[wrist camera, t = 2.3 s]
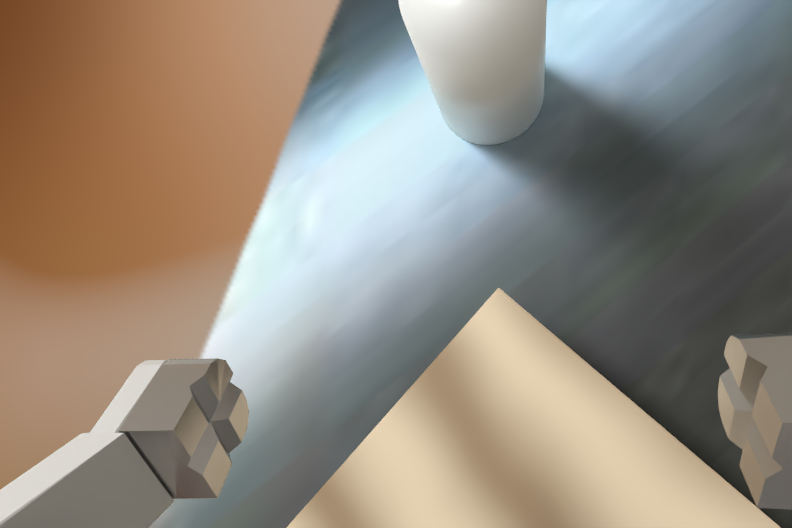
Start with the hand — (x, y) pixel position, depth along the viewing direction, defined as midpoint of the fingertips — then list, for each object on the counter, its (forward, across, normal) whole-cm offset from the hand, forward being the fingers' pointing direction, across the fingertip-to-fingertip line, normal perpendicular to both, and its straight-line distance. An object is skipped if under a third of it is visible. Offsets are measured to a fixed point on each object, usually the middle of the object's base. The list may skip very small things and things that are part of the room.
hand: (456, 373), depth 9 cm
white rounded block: (+20, 0, +2) cm, 21 cm away
